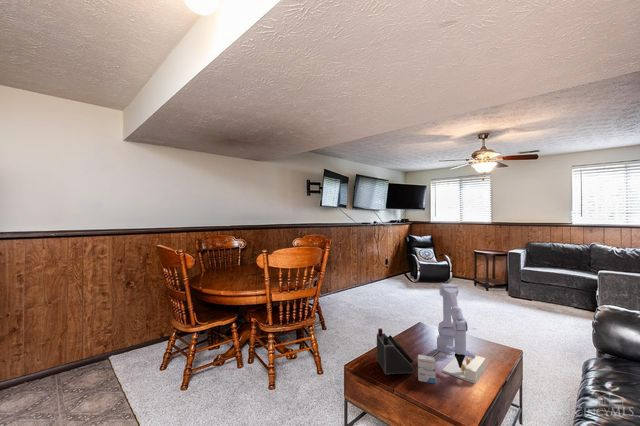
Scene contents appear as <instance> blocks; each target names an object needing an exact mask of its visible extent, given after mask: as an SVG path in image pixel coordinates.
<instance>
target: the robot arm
mask: <svg viewBox="0 0 640 426" xmlns="http://www.w3.org/2000/svg"><path fill="white" fill-rule="evenodd" d="M439 295H440V296H442V313H443V314H442V319H443V320H442V321H440V322H438V328H437V329H438V331H437V332H438V335H437V336H436V351H438V352H442V353H444V354H447V355H450V356H451V355H454V358H455V357H456V359H457V362H458V365H459V368H461V365H462V363H463V360H465V359H466V357H467V358H470V359H475V356H476V354H475V353H473V352H471V351H469V350H467V332H468V330H469V329H468V322H467V320H466V318H465V317H464V316H463V312H462V308H460V307H459V305H458V304H459V303H458V298H457V297H458V295H459V286H458V285H457V284H456V283H455V284H447V283H446V284H445V283H443V284H442V283H441V284H440V285H439Z"/></svg>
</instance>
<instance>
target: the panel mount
mask: <svg viewBox="0 0 640 426" xmlns="http://www.w3.org/2000/svg"><path fill="white" fill-rule="evenodd" d="M471 359H472V360H471V362H470V363H469V364H468V365H467V364H466V360H467V359H466V360H465V359H464V360H463V363H462V364H465V365H466V368H465V372H463V371H461V368H459V365H458V362H457V359H456V357H455V356H454V357H453V358H452V360H450V362H449V363H448V364H447V365H446V366H445V367H444V368H442V373H446V374H447V375H451V376H452V377H456V378H458V379H461V380H464V381H466V382H469V383H472V384H474V385H476V384H477V383H478V380H479V379H480V378H481V377H482V376H483V374H484V373H485V371H486V370H487V358H486V357H482V356H479V355H475V359H473V358H471Z"/></svg>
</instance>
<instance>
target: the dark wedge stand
mask: <svg viewBox="0 0 640 426" xmlns="http://www.w3.org/2000/svg"><path fill="white" fill-rule="evenodd" d="M377 330H378V332H377V333H376V360H377V362H378V363H379V365H380V367H381V369H382V371H383V373H384V375H386V376H390V374H392V375H394V374H408V375H411V374H413V373H415V367H414V366H413V364H412V363H413V362H414V361H413V359H412V358H411V357H410V355H409V354H408V353H407V351H406V350H405V349H404V348H403V346H401V344H399V342H398V341H396V339H395V338H394V337H393V336H392V335H391V334H389V336H388V335H387V334H386V333H383V328H378V329H377Z"/></svg>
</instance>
